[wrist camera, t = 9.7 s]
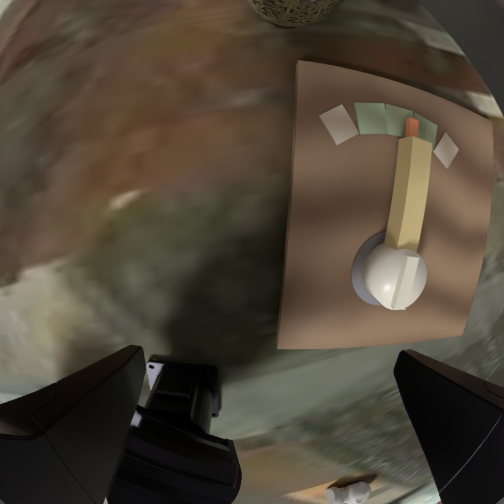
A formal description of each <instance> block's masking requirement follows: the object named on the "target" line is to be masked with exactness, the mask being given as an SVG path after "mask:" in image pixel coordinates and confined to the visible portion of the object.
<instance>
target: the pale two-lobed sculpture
mask: <svg viewBox="0 0 504 504" xmlns="http://www.w3.org/2000/svg"><path fill="white" fill-rule="evenodd" d="M370 493H371V488H370V486H369V484H367V483H366V482H361V481H360V482H357V483H354V484H351V485H348V486H346V487H345V488H344V489H338V488H337V487H334V486H332V487H330V488H329V489H327V490H326V492H325V496H326V500H327V501H328V503H330V504H342V503H348V504H360V503H362V502H364V501H365V500H367V498H368V497H369V495H370Z"/></svg>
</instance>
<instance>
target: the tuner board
mask: <svg viewBox="0 0 504 504" xmlns="http://www.w3.org/2000/svg"><path fill="white" fill-rule="evenodd" d="M407 118H413V119H416V120H418V138H419V139H422V140H425V141H427V142H430V143H432V153H431V165H430V175H429V184H428V191H427V199H426V205H425V212H424V217H423V223H422V229H421V234H420V239H419V243H418V248H417V254H419V255H420V256H421V257H422V259H423V260H424V262H425V265H426V269H427V278H426V283H425V286H424V289H423V291H422V293H421V294H420V296H419V297H418V298H417V299H416V301H414V302H413V303H412V304H411V305H409V306H408V307H406V308H405V310H391V309H388V308H386V307H384V306H383V305H382V304H381V303H380V302H379V301H378V300H377V299H376V298H375V297H374V296H373V295H372V294H371V293H370V292H369V291H368V290H367V289H366V288H365V286H364V284H363V281H362V267H363V264H364V261H365V259H366V257H367V256H368V254H369V253H370V252H371V251H372V250H373V249H374V248H375V247H377V246H378V245H380V244H383V243H384V241H385V236H386V231H387V225H388V220H389V214H390V208H391V201H392V195H393V188H394V180H395V172H396V163H397V153H398V142H399V139H401V138H405V130H406V119H407ZM492 186H493V127H492V122H491V121H489V120H488V119H486V118H484V117H482V116H480V115H478V114H476V113H474V112H472V111H470V110H468V109H466V108H463V107H461V106H459V105H457V104H455V103H452V102H450V101H448V100H445V99H443V98H441V97H438V96H436V95H433V94H430V93H428V92H425V91H422V90H420V89H417V88H414V87H411V86H408V85H405V84H402V83H399V82H396V81H393V80H389V79H386V78H383V77H379V76H375V75H372V74H368V73H364V72H360V71H356V70H351V69H347V68H342V67H337V66H332V65H327V64H321V63H315V62H309V61H302V60H298V62H297V64H296V72H295V101H294V123H293V143H292V161H291V177H290V191H289V205H288V219H287V231H286V243H285V255H284V266H283V276H282V287H281V297H280V306H279V316H278V325H277V334H276V346H277V349H328V348H351V347H367V346H380V345H391V344H402V343H411V342H419V341H427V340H435V339H442V338H448V337H455V336H461V335H462V333H463V330H464V327H465V324H466V321H467V318H468V315H469V312H470V309H471V305H472V302H473V298H474V295H475V291H476V287H477V283H478V279H479V275H480V271H481V266H482V261H483V256H484V251H485V246H486V240H487V233H488V226H489V219H490V210H491V199H492Z"/></svg>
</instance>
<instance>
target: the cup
mask: <svg viewBox="0 0 504 504" xmlns="http://www.w3.org/2000/svg"><path fill="white" fill-rule="evenodd" d="M342 1H343V0H247V2H248V4H249V5H250V7H251V8H252V9H253V10H254V11H255V12H256V13H257V14H258V15H259V16H261V17H262V18H264V19H266V20H267V22H269V23H270V24H271V25H273V26H275V27H277V28H281V29H293V28H297V27H303V26H308V25H312V24H315V23H317V22H319V21H321V20H323V19H324V18H326V17H327V16H328V15H329V14H331V13H332V12H333V11H334V10H335V9H336V8H337V7H338V6H339V5H340V4H341V3H342Z"/></svg>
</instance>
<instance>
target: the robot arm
mask: <svg viewBox="0 0 504 504" xmlns="http://www.w3.org/2000/svg"><path fill="white" fill-rule="evenodd" d="M151 365H153V366H151ZM146 367H147V373H148V379H149V384H150V390H151V392H150V394H149V397H148V400H147V402H146V405H145V407H141V406H139V405H137V404H138V400H139V396H140V392H141V388H142V384H143V380H144V376H145V372H146ZM210 371H214V373H212V372H210ZM394 377H395V379H396V382H397V385H398V388H399V392H400V395H401V398H402V401H403V404H404V406H405V409H406V411H407V414H408V416H409V418H410V420H411V423H412V425H413V427H414V430H415V432H416V435H417V437H418V439H419V442H420V444H421V447H422V449H423V452H424V454H425V457H426V460H427V462H428V465H429V467H430V470H431V473H432V475H433V478H434V481H435V484H436V487H437V489H438V492H439V496H440V499H441V502H442V504H504V387H501V386H498V385H496V384H493V383H490V382H488V381H485V380H482V379H480V378H478V377H475V376H473V375H471V374H468V373H466V372H463V371H461V370H458V369H456V368H454V367H451V366H449V365H447V364H444V363H442V362H439V361H437V360H435V359H432V358H430V357H428V356H425V355H423V354H421V353H418V352H416V351H414V350H411V349H408V350H402V351H401V352H400V353H399V355H398V358H397V361H396V364H395V367H394ZM218 414H219V398H218V369H217V368H216V367H215V366H205V365H193V364H184V363H174V362H164V361H156V360H149V361H148V362H147V364H146V365H145V358H144V351H143V348H142V347H141V346H137V345H129V346H127V347H125V348H123V349H121V350H119V351H117V352H115V353H113V354H111V355H109V356H107V357H105V358H103V359H101V360H99V361H97V362H95V363H93V364H91V365H89V366H87V367H85V368H83V369H81V370H79V371H77V372H75V373H73V374H71V375H69V376H67V377H65V378H63V379H61V380H59V381H57V382H56V383H53V384H51V385H49V386H46V387H44V388H42V389H40V390H37V391H35V392H33V393H30V394H27V395H25V396H22V397H19V398H17V399H14V400H11V401H8V402H5V403H2V404H0V504H103V503H104V500H105V497H106V499H107V502H108V504H231V503H232V502H233V501H234V500H235V498H236V496H237V494H238V492H239V489H240V485H241V480H242V472H241V468H240V464H239V461H238V457H237V454H236V450H235V447H234V443H233V440H229V439H223V438H219V437H216V436H213V435H210V434H209V433H210V424H211V417H213V418H215V417H217V416H218Z"/></svg>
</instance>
